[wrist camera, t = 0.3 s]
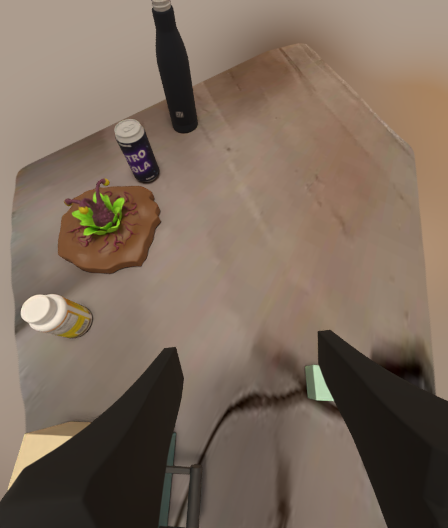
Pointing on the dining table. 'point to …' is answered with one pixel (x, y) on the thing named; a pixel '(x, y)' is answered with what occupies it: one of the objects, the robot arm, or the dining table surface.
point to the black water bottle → (174, 68)
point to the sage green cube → (316, 384)
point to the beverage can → (137, 149)
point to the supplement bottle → (56, 315)
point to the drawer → (194, 490)
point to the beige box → (44, 444)
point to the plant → (108, 228)
